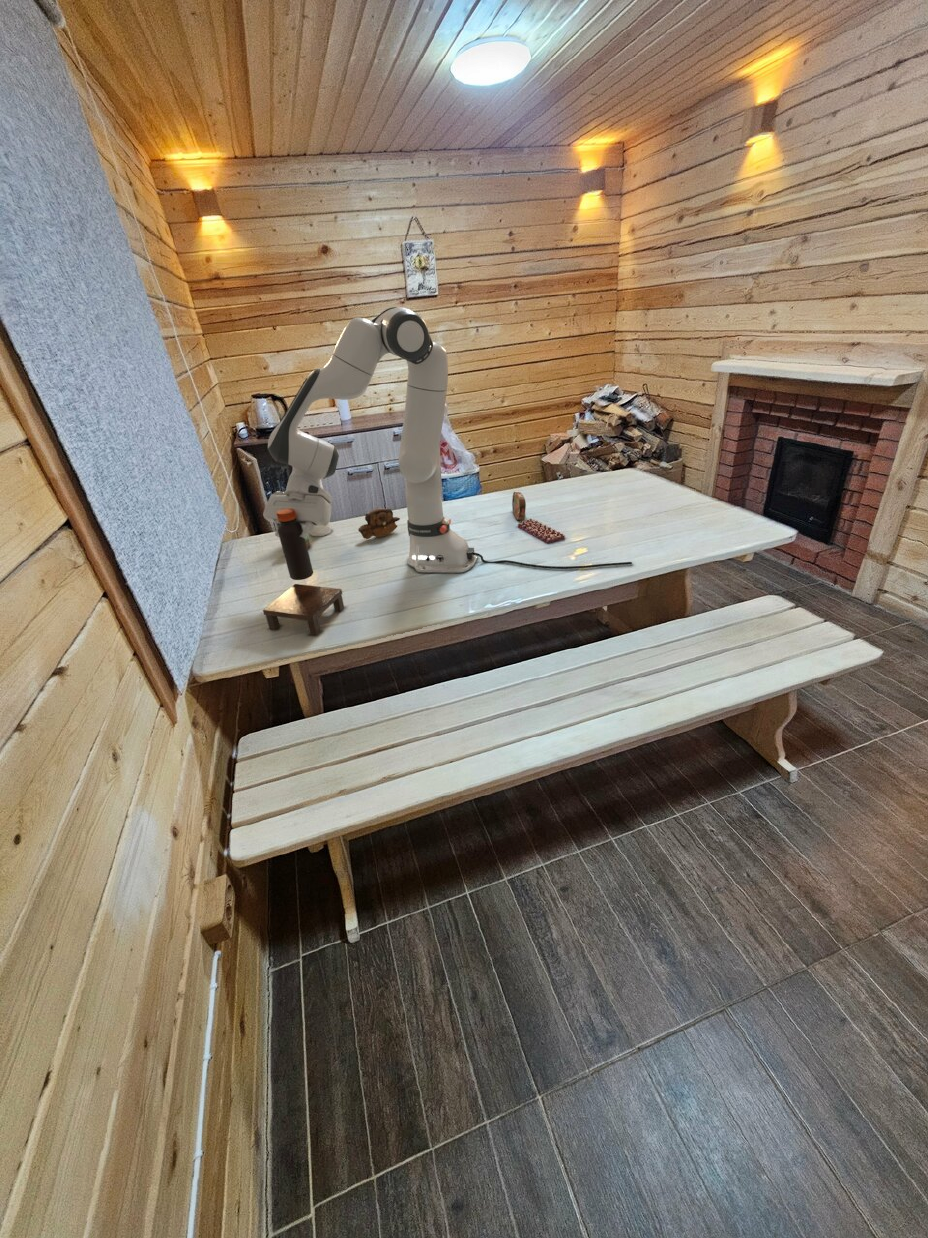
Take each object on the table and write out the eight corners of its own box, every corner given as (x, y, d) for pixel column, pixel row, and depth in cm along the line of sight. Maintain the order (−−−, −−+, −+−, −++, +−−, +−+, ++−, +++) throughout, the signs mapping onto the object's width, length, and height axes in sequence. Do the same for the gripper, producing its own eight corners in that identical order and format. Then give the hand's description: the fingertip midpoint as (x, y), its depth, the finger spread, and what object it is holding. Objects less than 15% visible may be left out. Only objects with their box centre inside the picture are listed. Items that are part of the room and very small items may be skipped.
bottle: (313, 538, 193) (295, 456, 177) (308, 531, 199) (290, 451, 183) (334, 533, 196) (318, 452, 180) (328, 527, 202) (312, 448, 186)
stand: (345, 607, 147) (341, 589, 144) (317, 636, 135) (312, 616, 132) (299, 602, 151) (295, 583, 148) (268, 629, 139) (262, 609, 136)
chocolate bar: (532, 522, 195) (533, 517, 194) (564, 538, 180) (564, 533, 179) (516, 526, 192) (516, 521, 191) (547, 543, 178) (547, 537, 177)
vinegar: (285, 579, 153) (267, 514, 142) (299, 569, 158) (283, 506, 148) (304, 581, 150) (287, 516, 140) (318, 571, 156) (302, 507, 145)
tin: (511, 509, 208) (511, 488, 203) (519, 509, 208) (519, 488, 204) (518, 523, 195) (518, 501, 191) (526, 522, 195) (526, 500, 191)
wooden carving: (366, 544, 185) (361, 517, 180) (359, 541, 188) (354, 514, 183) (403, 531, 194) (400, 505, 189) (396, 528, 197) (393, 502, 192)
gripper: (265, 486, 150) (253, 530, 147) (326, 488, 144) (315, 535, 141) (278, 496, 156) (266, 539, 153) (338, 498, 150) (327, 543, 147)
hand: (290, 537), depth 147 cm, fingers closed on vinegar, 6 cm apart
